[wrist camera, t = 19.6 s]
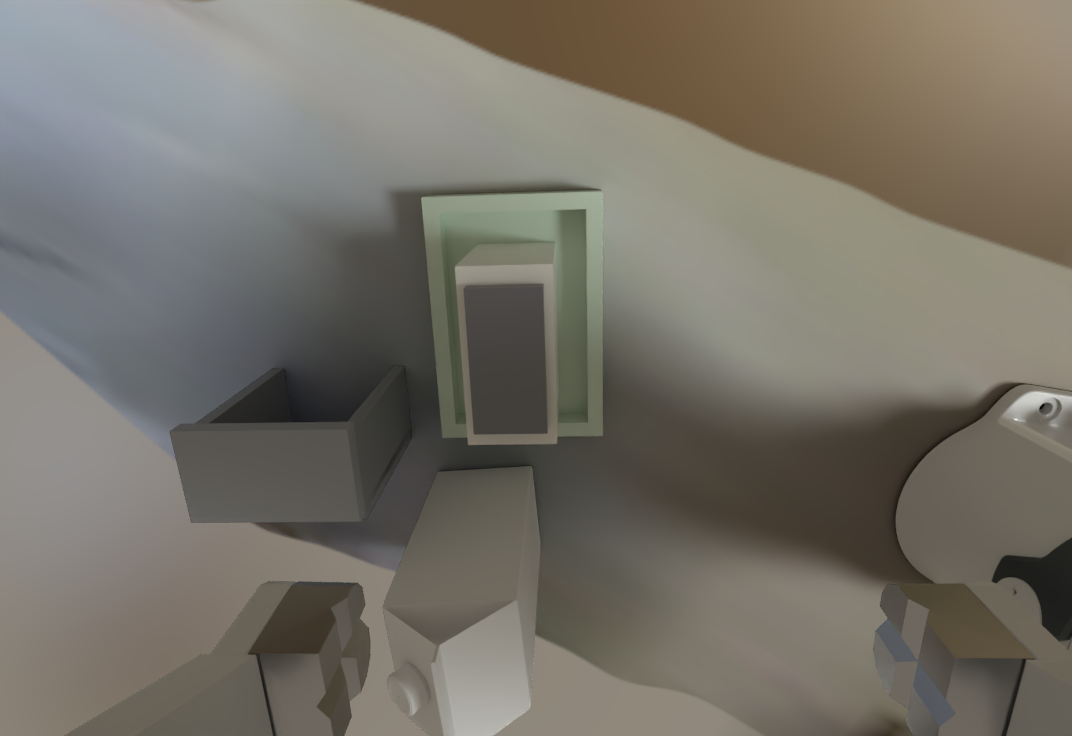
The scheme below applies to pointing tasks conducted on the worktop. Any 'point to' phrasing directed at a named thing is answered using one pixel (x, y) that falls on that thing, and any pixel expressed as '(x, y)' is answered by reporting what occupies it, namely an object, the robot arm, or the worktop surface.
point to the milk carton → (467, 604)
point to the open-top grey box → (291, 456)
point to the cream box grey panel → (509, 343)
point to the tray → (578, 282)
